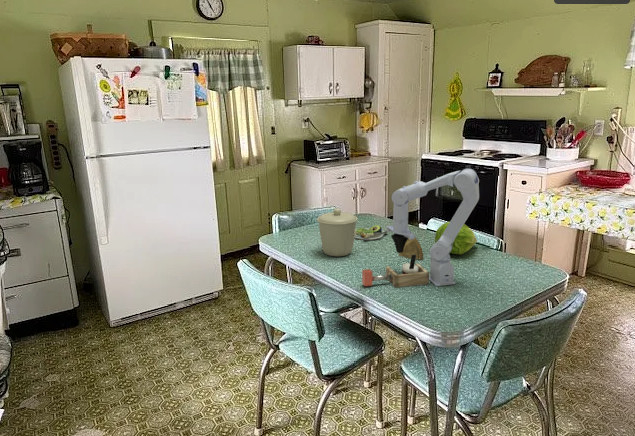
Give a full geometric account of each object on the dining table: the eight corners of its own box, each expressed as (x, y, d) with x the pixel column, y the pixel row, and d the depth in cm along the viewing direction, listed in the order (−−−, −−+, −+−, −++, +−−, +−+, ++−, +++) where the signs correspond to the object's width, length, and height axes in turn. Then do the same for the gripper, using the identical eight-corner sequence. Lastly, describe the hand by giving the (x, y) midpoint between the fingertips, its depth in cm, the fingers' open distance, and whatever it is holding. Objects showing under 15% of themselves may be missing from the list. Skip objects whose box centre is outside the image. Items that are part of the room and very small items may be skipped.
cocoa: (404, 274, 184) (405, 245, 180) (420, 276, 181) (421, 247, 178) (399, 283, 175) (399, 253, 172) (415, 285, 173) (416, 255, 170)
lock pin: (391, 283, 174) (392, 269, 172) (364, 286, 171) (364, 272, 170) (389, 280, 176) (389, 267, 175) (362, 283, 174) (362, 269, 173)
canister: (336, 262, 198) (335, 215, 192) (309, 252, 211) (308, 208, 206) (365, 253, 209) (365, 208, 203) (339, 244, 222) (338, 201, 217)
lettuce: (456, 250, 221) (484, 262, 209) (423, 245, 206) (450, 257, 194) (466, 221, 219) (495, 231, 206) (433, 213, 204) (462, 224, 191)
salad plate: (380, 244, 222) (380, 235, 220) (345, 241, 228) (345, 232, 227) (389, 233, 239) (389, 224, 238) (356, 230, 246) (356, 222, 244)
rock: (430, 254, 199) (420, 244, 208) (421, 241, 195) (411, 231, 204) (411, 269, 199) (401, 259, 208) (401, 257, 195) (392, 247, 204)
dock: (428, 283, 174) (429, 272, 173) (395, 287, 171) (395, 276, 170) (417, 273, 183) (417, 263, 182) (385, 277, 181) (386, 266, 180)
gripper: (421, 221, 175) (420, 255, 178) (396, 213, 187) (395, 245, 190) (407, 224, 171) (406, 258, 175) (382, 216, 183) (382, 248, 187)
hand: (399, 252), depth 182 cm, fingers closed
